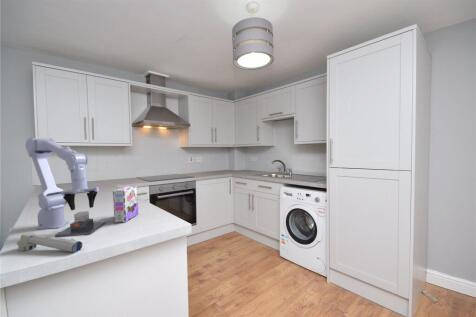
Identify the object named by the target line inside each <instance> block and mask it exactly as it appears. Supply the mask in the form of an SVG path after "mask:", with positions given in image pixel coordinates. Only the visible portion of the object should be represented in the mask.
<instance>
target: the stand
mask: <svg viewBox="0 0 476 317" xmlns="http://www.w3.org/2000/svg"><path fill="white" fill-rule="evenodd" d="M106 224H107V221H105V220H104V221H94V218H89V220H88V221H87V222H85V223H75V221H73V222H72V223H70V224H69V227H67V228H65V229H63V230H60V231H59V232H58V233H56V234H54V236H55V237H56V238H63V237H74V236H87V235H92V234H93V233H95V232H96V231H98V230H99V229H100V228H102V227H103V226H104V225H106Z"/></svg>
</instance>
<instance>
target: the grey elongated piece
mask: <svg viewBox="0 0 476 317" xmlns="http://www.w3.org/2000/svg"><path fill="white" fill-rule="evenodd" d="M16 245H17V246H18V248H17V249H18V250H19V251H20V252H24V251H27V250H28V251H31V250H32V251H33V250H35V249H36V248H37V247H38V245H39V246H42V247H47V248H52V249H55V250H60V251H63V252H66V253H74V254H75V253H78V252H79V251H81V249H83V242H82V241H80V240H76V239H74V238H63V237H54V236H49V235H48V236H47V235H39V234H35V232H33V231H27V232H23V233H22V234H21V236H20V240H18V241H17V242H16Z"/></svg>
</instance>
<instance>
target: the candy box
mask: <svg viewBox="0 0 476 317" xmlns="http://www.w3.org/2000/svg"><path fill="white" fill-rule="evenodd" d="M112 197H113V219H114V220H113V221H114V223H115V224H117V223H120V224H121V223H122V224H123V223H127V222H129V221H130V220H131V219H133V218H136V217H137V216H138V215H139V204H138V203H139V202H138V200H139V199H138V198H139V197H138V186H137V185H135V186H134V185H132V186H129V185H128V186H125V187H121V188H117V189H113V191H112ZM136 215H137V216H136Z"/></svg>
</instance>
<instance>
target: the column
mask: <svg viewBox="0 0 476 317" xmlns="http://www.w3.org/2000/svg"><path fill="white" fill-rule="evenodd" d="M89 212H90V211H88V210H87V211H85V210H83V211H77V212H75V213H74V214H73V220H74V222H75V223H85V222H87V221H88V220H89V219H90V213H89Z"/></svg>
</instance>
